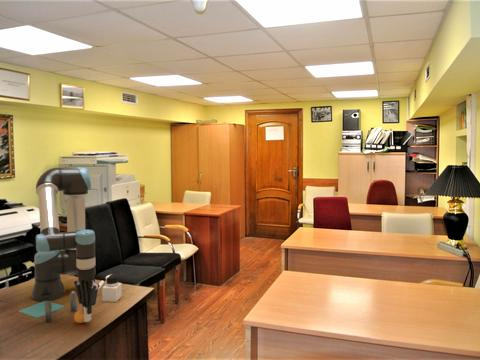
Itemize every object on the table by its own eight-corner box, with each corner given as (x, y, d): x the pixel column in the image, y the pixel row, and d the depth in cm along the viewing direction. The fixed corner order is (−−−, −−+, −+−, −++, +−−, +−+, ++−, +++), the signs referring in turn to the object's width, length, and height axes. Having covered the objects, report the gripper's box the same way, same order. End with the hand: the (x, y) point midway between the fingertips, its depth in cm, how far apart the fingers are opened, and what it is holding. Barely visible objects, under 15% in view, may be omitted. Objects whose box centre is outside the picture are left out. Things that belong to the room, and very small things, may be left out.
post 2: (69, 311, 178) (68, 292, 177) (74, 308, 180) (73, 290, 180) (73, 312, 177) (72, 293, 176) (77, 310, 179) (77, 291, 178)
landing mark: (17, 311, 177) (17, 310, 177) (45, 300, 189) (45, 300, 189) (37, 318, 170) (37, 317, 170) (64, 306, 183) (64, 306, 183)
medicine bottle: (122, 296, 196) (121, 273, 195) (116, 302, 189) (115, 278, 188) (108, 295, 197) (108, 272, 196) (102, 301, 190) (101, 277, 188)
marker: (94, 296, 196) (94, 292, 196) (90, 296, 196) (90, 292, 195) (104, 284, 214) (104, 279, 214) (100, 284, 214) (100, 280, 213)
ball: (74, 327, 165) (69, 315, 166) (85, 321, 170) (80, 310, 171) (81, 322, 163) (76, 310, 164) (92, 317, 167) (86, 305, 169)
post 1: (44, 321, 167) (43, 301, 166) (49, 319, 169) (48, 299, 169) (48, 323, 166) (47, 302, 165) (53, 320, 168) (52, 300, 167)
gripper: (104, 266, 164) (105, 320, 166) (82, 262, 170) (84, 313, 172) (90, 272, 157) (91, 327, 159) (68, 267, 163) (69, 320, 165)
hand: (87, 320), depth 166 cm, fingers closed
